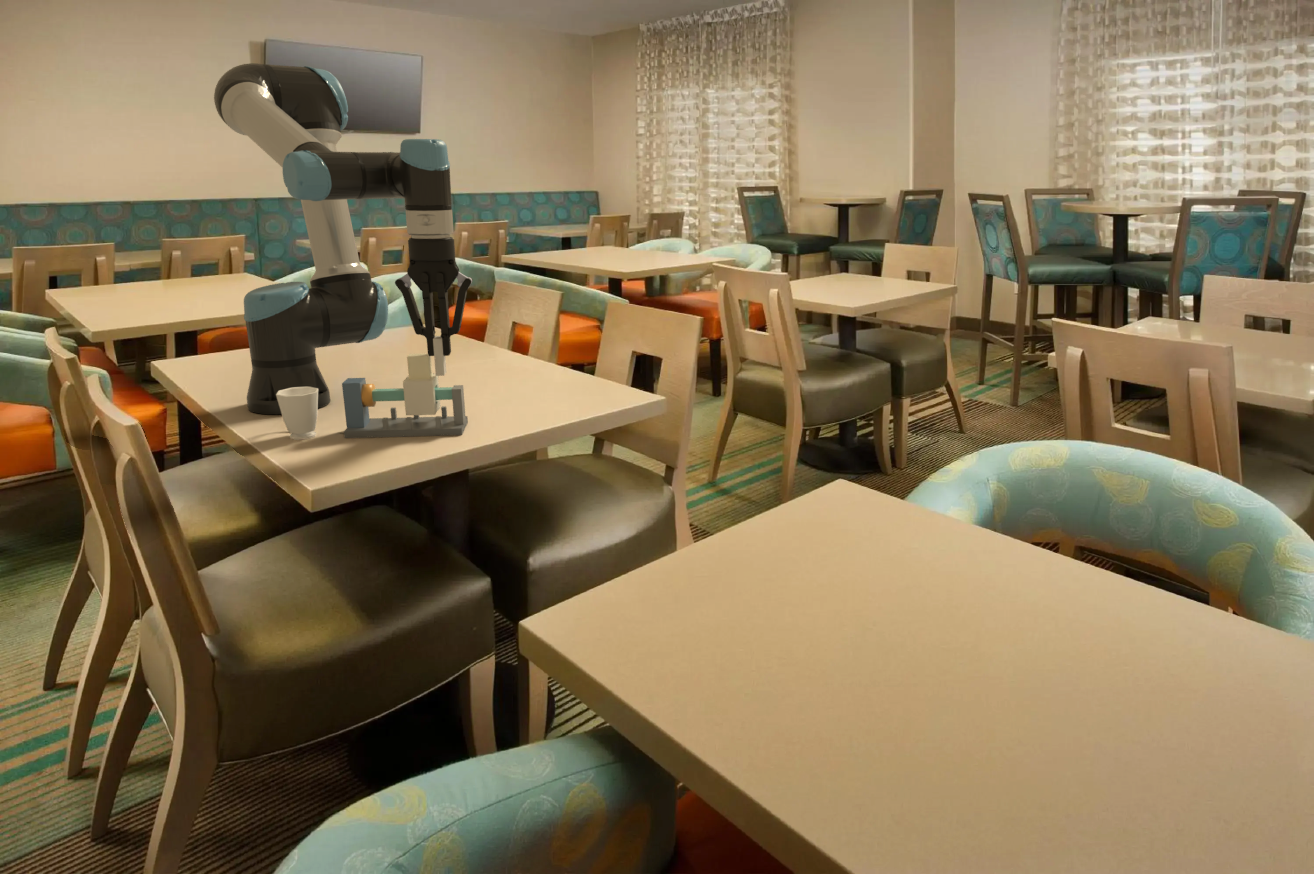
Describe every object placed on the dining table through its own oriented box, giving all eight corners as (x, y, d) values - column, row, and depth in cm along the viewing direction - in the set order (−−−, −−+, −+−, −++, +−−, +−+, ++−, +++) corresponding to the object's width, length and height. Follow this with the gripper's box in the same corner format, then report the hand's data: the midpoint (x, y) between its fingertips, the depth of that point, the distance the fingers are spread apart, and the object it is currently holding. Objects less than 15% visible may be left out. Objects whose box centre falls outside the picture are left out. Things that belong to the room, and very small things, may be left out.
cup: (287, 444, 148) (281, 398, 145) (272, 431, 155) (266, 387, 153) (329, 437, 152) (324, 392, 149) (312, 424, 159) (307, 381, 157)
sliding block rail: (467, 422, 160) (464, 373, 158) (462, 434, 153) (458, 383, 150) (356, 425, 159) (350, 375, 156) (344, 438, 151) (338, 386, 148)
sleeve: (440, 405, 158) (436, 351, 155) (435, 414, 152) (430, 358, 149) (412, 406, 158) (407, 351, 155) (405, 415, 152) (400, 358, 149)
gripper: (386, 238, 142) (399, 379, 149) (467, 237, 143) (476, 378, 150) (395, 234, 149) (407, 370, 156) (472, 234, 151) (480, 368, 158)
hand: (441, 373), depth 153 cm, fingers closed
